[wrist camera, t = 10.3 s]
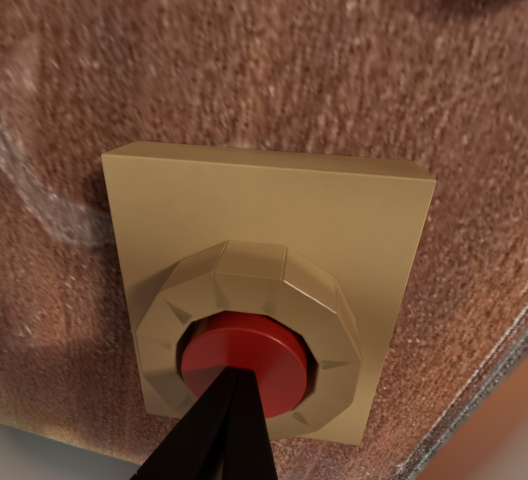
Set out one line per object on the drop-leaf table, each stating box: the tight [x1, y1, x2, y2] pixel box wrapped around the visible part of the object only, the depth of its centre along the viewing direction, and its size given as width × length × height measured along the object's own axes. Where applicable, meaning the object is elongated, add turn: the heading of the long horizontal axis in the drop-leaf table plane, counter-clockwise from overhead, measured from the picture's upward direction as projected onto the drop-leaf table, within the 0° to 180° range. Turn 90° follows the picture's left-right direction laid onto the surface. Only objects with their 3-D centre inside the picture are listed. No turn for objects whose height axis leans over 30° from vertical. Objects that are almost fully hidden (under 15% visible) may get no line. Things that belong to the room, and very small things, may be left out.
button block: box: [101, 141, 436, 446], centre depth 11 cm, size 11×9×4 cm
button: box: [181, 310, 307, 419], centre depth 10 cm, size 4×4×2 cm
